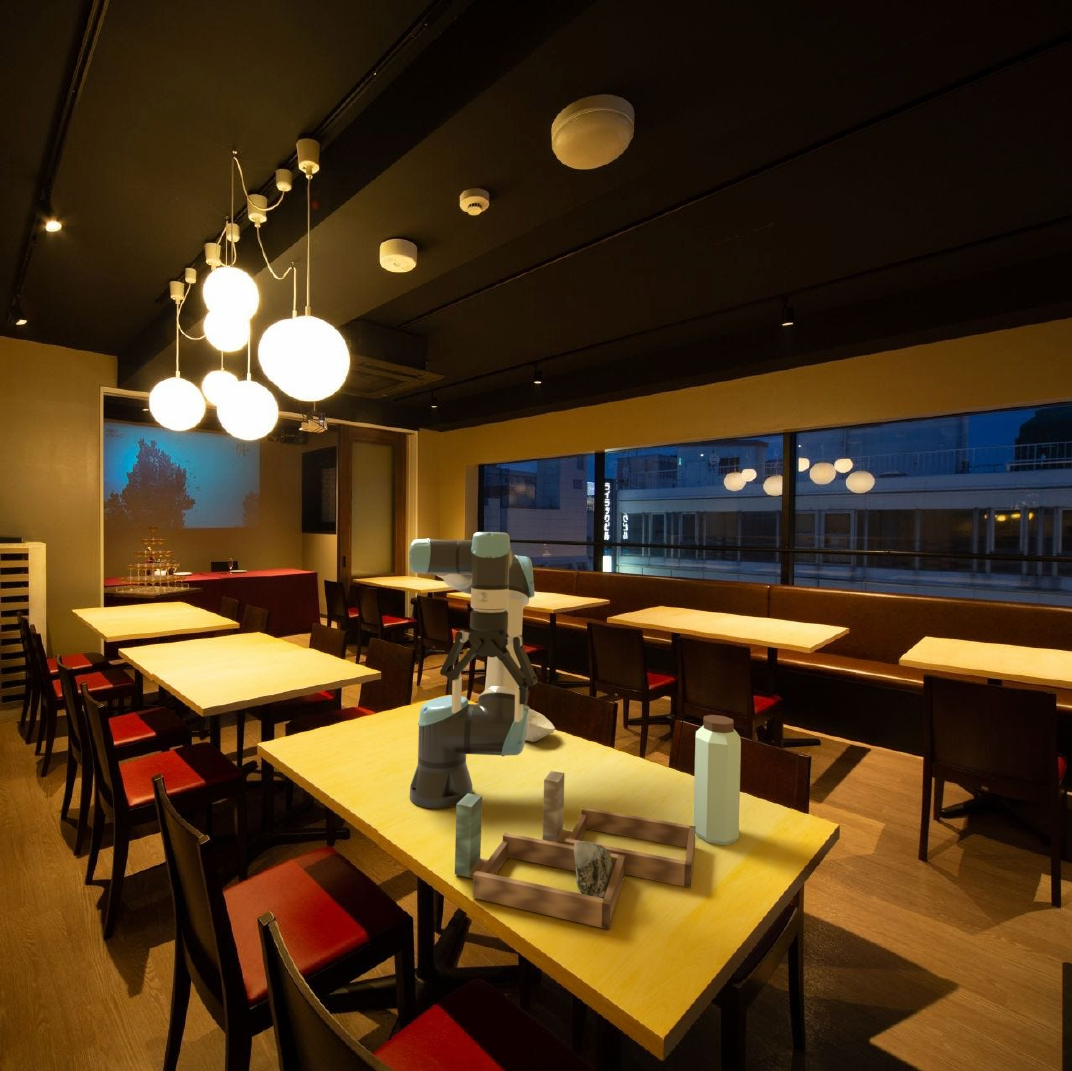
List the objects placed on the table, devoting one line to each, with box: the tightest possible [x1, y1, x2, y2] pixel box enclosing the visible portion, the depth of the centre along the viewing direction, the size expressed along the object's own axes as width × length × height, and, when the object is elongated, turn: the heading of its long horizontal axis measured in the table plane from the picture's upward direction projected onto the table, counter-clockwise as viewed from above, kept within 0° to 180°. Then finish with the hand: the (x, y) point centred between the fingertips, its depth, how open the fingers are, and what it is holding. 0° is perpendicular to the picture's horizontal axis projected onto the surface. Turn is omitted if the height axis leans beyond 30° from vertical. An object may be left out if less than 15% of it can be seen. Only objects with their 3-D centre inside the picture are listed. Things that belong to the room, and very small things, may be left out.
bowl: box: [525, 708, 556, 742], centre depth 182 cm, size 15×14×10 cm
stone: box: [574, 840, 613, 899], centre depth 103 cm, size 10×10×10 cm
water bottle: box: [692, 714, 742, 846], centre depth 125 cm, size 10×10×25 cm
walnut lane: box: [454, 793, 626, 930], centre depth 105 cm, size 30×15×13 cm, turn 72°
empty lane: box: [542, 770, 696, 888], centre depth 117 cm, size 30×15×13 cm, turn 72°
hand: (486, 715), depth 115 cm, fingers open, 13 cm apart
